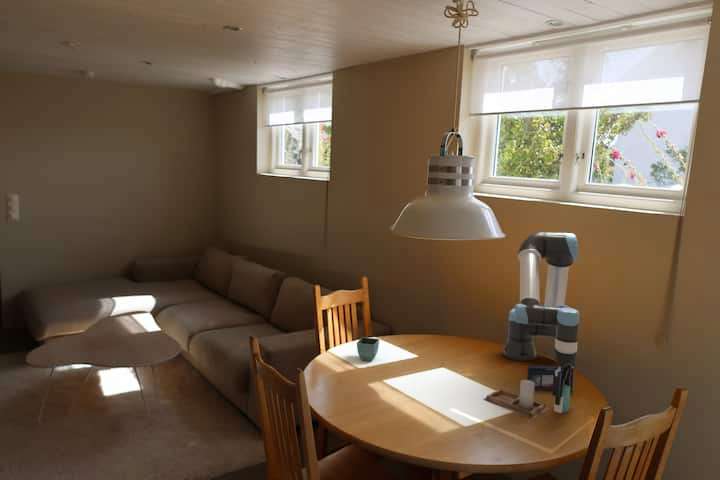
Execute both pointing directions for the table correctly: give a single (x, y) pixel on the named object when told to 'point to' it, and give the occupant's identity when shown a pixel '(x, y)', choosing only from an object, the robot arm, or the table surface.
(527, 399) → the white cylinder
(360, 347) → the flower pot
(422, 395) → the table surface
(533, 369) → the vhs cassette tape
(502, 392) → the rack
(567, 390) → the teal rounded cylinder
